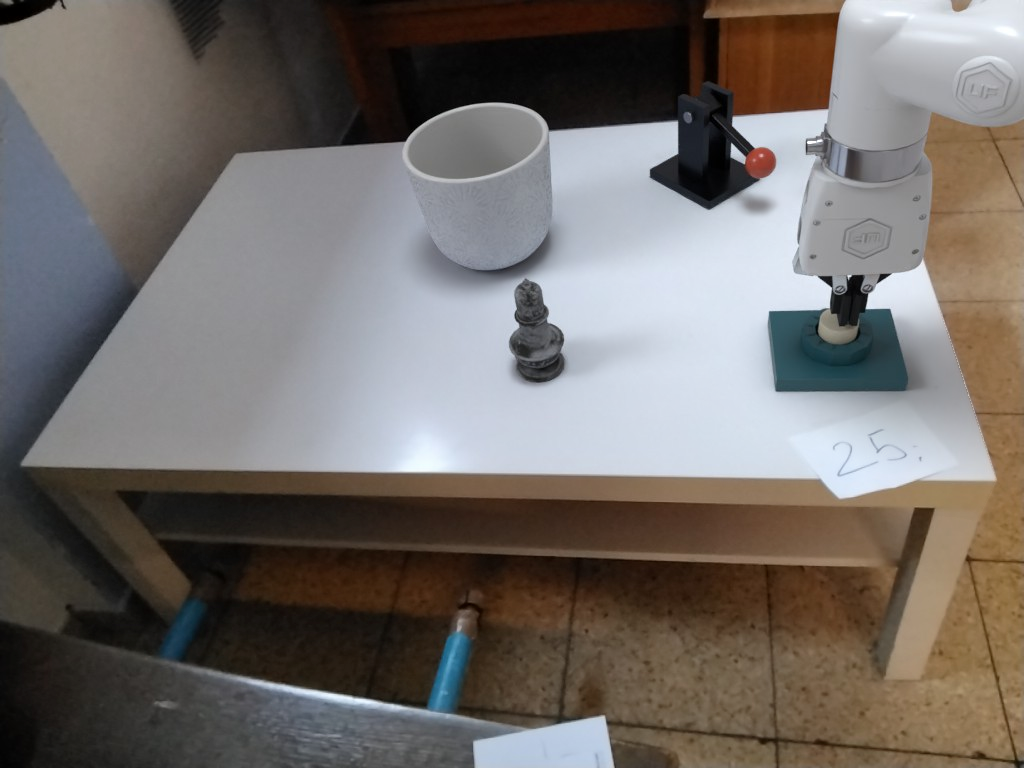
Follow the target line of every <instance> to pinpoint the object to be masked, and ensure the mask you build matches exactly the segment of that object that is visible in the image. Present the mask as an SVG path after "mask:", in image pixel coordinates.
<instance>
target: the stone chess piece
mask: <svg viewBox="0 0 1024 768" xmlns="http://www.w3.org/2000/svg"><path fill="white" fill-rule="evenodd" d="M513 297H514V303H515V307H516V309H515V312H514V314H513V315H514V317H513V318H514V320H515V322H516V323H517V324H518V328H517V329H516V330H514V331H513V332H512V334H511V336H510V337H509V340H508V348H509V351H510V353H511V354H512V355H513V357H514V358H516V363H515V368H516V372H517V374H518V376H520V377H521V379H524V380H525V381H528V382H531V383H544V382H548V381H552V380H553V379H556V378H557V377H558V376H560V374H561V373H562V372H563V370H564V368H565V364H566V363H565V362H566V361H565V357H564V355H563V354H562V348H563V346H564V343H565V334H564V333H563V331H562V330H561V328H560V327H558V326H557V325H555V324H553V323H551V322H548V318H549V316H550V310H549V307H548V306H547V305H546V304H545V302H544V295H543V289H542V288H541V285H540V284H538V283H537V282H535V281H532V280H529V279H528V278H524V279H523V280H522V282H520V283H519V284H518V285H517V286H516V287H515V289H514V293H513Z"/></svg>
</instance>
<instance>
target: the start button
mask: <svg viewBox="0 0 1024 768" xmlns="http://www.w3.org/2000/svg"><path fill="white" fill-rule="evenodd" d="M858 326H859V319H858V325H857V326H851V325H849V323H848V324H847V325H845V326H841V327H839V323H838V318H837V314H831V311H830V309H827V310H826V311H824V312H823V313H822V314H821V316H820V321H819V327H818V333H819V336H820V337H821V338H822V339H823V340H824V341H826V342H828V343H831V344H835V345H843V344H847V343H850V342H852V341H853V340H854V339H855V338H856V335H857V331H858Z"/></svg>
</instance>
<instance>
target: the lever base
mask: <svg viewBox="0 0 1024 768" xmlns="http://www.w3.org/2000/svg"><path fill="white" fill-rule="evenodd" d="M707 90H708V91H709V92H710V93H711V94H712V95H713V96H714V97H715V98H716V99H717V100H718V101H719V102H720V103H721V104H722V107H721V109H720V111H719V113H720V114H721V115H722V116H723V117H724V118H725V119H726V120H727V121H728V122H729V123H730V124H731V125H732V126H733V122H734V121H733V120H734V119H733V118H734V101H735V100H734V98H735V92H734V91H732V90H730V89H727V88H725V87H723V86H720V85H718V84H715V83H713V82H711V81H709V80H707V81H705V82H704V83H702V84H701V93H703V92H705V91H707ZM709 109H710V105H708V104H706V103H703V102H701V101H699V100H697V99H694V97H691V96H690V95H688V94H685V93H683V94H681V95H679V96H677V153H676V154H675V155H673V156H671V157H669V158H668V159H666V160H664V161H661V162H660V163H659V164H657V165H655V166H654V167H651V168H650V169H649V178H651V179H653V180H655V181H656V182H657V183H660V184H661V185H664V186H665V187H667V188H669V189H671V190H673V191H674V192H677V193H678V194H680V195H682V196H683V197H685V198H687V199H689V200H691V201H693V202H695V203H697V204H698V205H700V206H702V207H703V208H706V209H707V210H711V209H713V208H714V207H716V206H718V205H719V204H721V203H723V202H725V201H726V200H727V199H729V198H731V197H733V196H734V195H736V194H738V193H739V192H741V191H743V190H744V189H746V188H748V187H750V186H752V185H753V184H754V183H756V182H758V181H759V180H760V179H759V178H754V177H752V176H750V175H749V174H748V172H747V171H746V168H745V163H743V162H741V161H740V160H738V159H735V158H733V157H732V143H731V142H730V141H729V140H728V139H727V138H726V137H725V136H724V135H723V134H722V133H721V132H720V131H719V130H718V129H717V128H716V127H715V126H714V125H713V124H712V123H711V122H710V123H709Z"/></svg>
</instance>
